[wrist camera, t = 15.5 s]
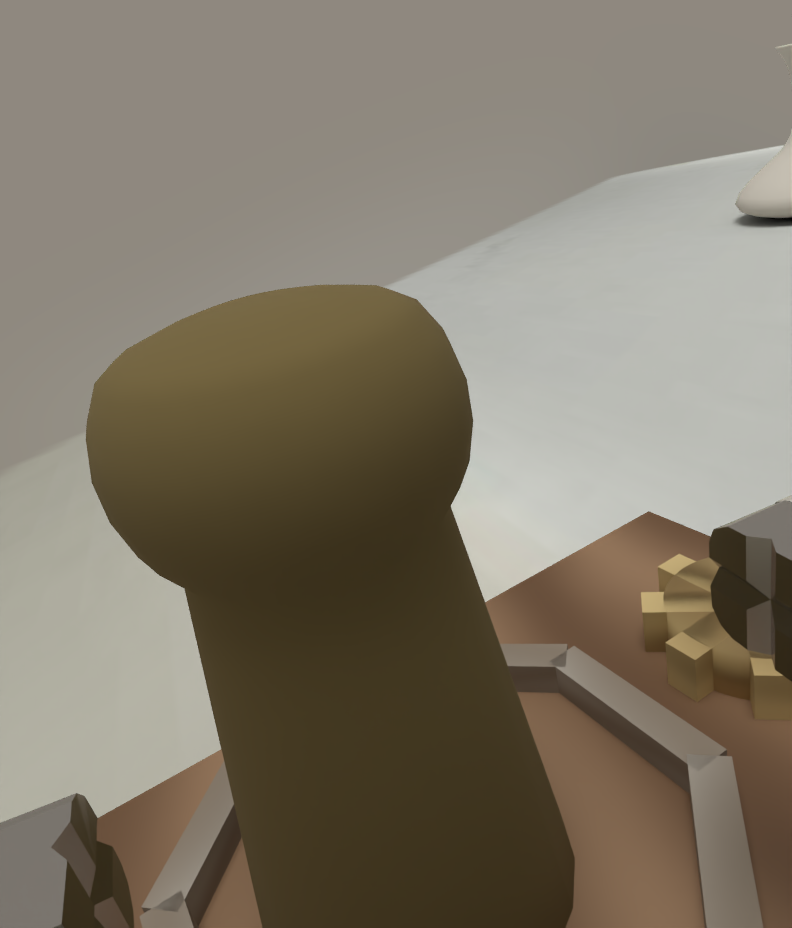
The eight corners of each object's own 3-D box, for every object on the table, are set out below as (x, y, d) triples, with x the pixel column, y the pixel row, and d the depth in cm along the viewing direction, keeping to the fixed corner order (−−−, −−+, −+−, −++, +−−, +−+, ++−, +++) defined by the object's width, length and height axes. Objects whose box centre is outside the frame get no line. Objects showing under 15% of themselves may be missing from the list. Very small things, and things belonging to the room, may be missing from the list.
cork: (220, 847, 15) (-5, 347, 11) (454, 703, 18) (347, 243, 13) (347, 1146, 10) (26, 446, 6) (649, 889, 13) (586, 250, 8)
